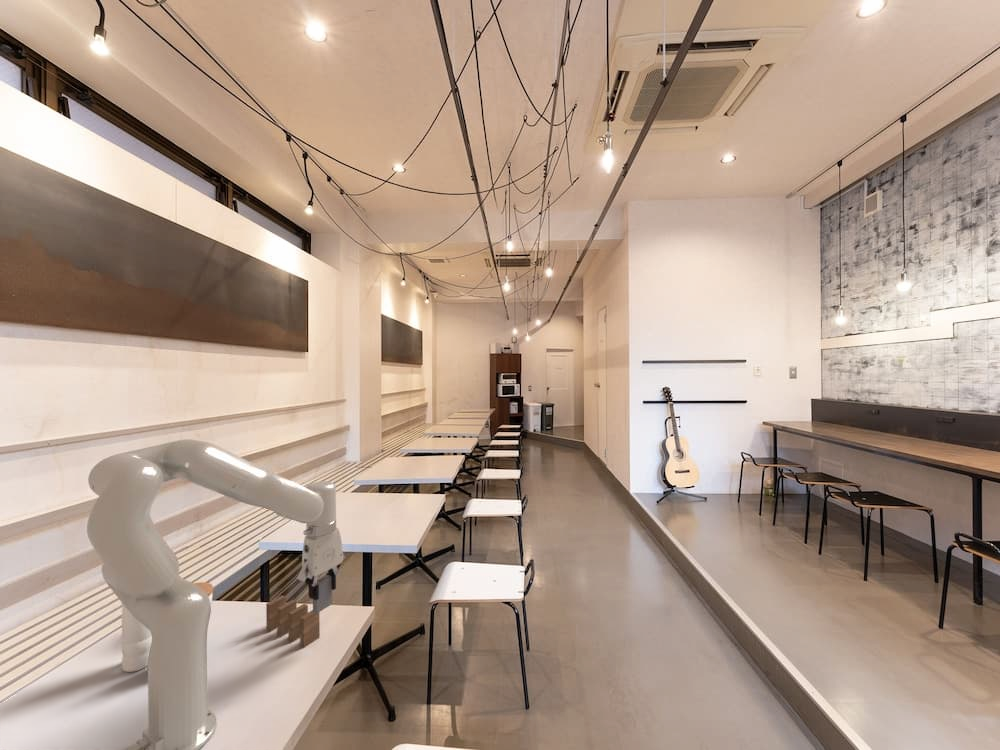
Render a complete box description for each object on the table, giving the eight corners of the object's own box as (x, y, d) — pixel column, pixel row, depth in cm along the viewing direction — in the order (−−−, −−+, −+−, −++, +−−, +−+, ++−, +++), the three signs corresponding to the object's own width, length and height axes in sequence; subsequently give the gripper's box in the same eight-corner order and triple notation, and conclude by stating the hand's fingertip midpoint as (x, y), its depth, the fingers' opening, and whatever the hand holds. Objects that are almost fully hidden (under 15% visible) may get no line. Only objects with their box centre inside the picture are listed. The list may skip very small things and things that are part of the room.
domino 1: (285, 622, 123) (285, 596, 123) (269, 632, 119) (269, 604, 118) (282, 621, 124) (282, 595, 124) (266, 630, 119) (266, 603, 119)
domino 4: (319, 637, 116) (319, 609, 116) (304, 648, 112) (303, 619, 112) (315, 635, 117) (315, 608, 117) (300, 646, 112) (299, 617, 112)
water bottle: (116, 667, 104) (115, 570, 104) (150, 651, 111) (149, 559, 111) (129, 677, 101) (128, 577, 101) (163, 659, 107) (162, 565, 107)
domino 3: (307, 632, 118) (307, 605, 118) (292, 642, 114) (292, 614, 114) (304, 630, 119) (304, 603, 119) (288, 640, 115) (288, 612, 115)
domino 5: (332, 604, 114) (331, 575, 114) (316, 613, 110) (316, 584, 109) (328, 602, 115) (327, 574, 115) (312, 612, 110) (312, 582, 110)
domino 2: (296, 627, 121) (296, 600, 121) (280, 637, 116) (280, 609, 116) (293, 626, 121) (292, 599, 121) (277, 635, 117) (277, 607, 117)
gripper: (303, 542, 103) (304, 613, 103) (355, 519, 118) (356, 582, 118) (284, 536, 106) (285, 606, 106) (337, 515, 121) (338, 576, 121)
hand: (322, 592), depth 112 cm, fingers closed on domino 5, 4 cm apart
